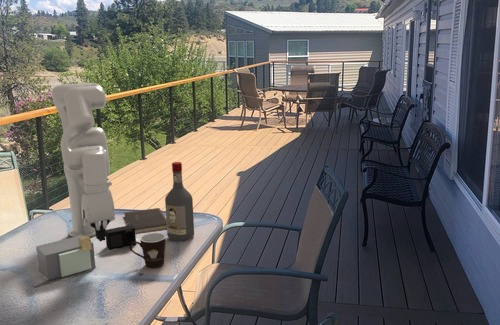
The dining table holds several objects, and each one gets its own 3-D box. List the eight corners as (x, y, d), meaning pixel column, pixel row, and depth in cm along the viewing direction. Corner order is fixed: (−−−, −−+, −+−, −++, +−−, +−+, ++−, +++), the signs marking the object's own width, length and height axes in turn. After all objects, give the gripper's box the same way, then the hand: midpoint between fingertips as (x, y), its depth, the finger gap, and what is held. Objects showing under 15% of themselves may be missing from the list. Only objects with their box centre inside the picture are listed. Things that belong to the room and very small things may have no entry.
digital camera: (109, 251, 196) (108, 234, 194) (106, 246, 200) (104, 229, 199) (137, 246, 200) (135, 228, 199) (133, 241, 205) (131, 224, 203)
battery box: (84, 258, 190) (82, 234, 188) (97, 269, 181) (95, 244, 179) (23, 275, 177) (20, 250, 175) (34, 287, 168) (31, 261, 166)
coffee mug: (171, 261, 186) (170, 234, 184) (159, 271, 178) (158, 243, 176) (142, 257, 190) (140, 231, 188) (129, 267, 182) (127, 239, 180)
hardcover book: (131, 234, 213) (130, 229, 213) (124, 217, 234) (123, 212, 234) (170, 229, 218) (170, 224, 218) (160, 212, 239) (160, 207, 239)
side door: (90, 267, 181) (87, 235, 178) (93, 270, 178) (90, 237, 175) (60, 275, 175) (57, 242, 172) (64, 278, 172) (60, 245, 170)
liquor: (178, 231, 214) (174, 159, 207) (197, 235, 210) (193, 161, 203) (164, 239, 206) (159, 164, 199) (183, 243, 202) (179, 166, 195)
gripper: (112, 181, 183) (117, 231, 187) (70, 189, 174) (75, 242, 178) (122, 185, 177) (126, 237, 181) (78, 194, 168) (84, 248, 172)
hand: (101, 239), depth 180 cm, fingers closed
